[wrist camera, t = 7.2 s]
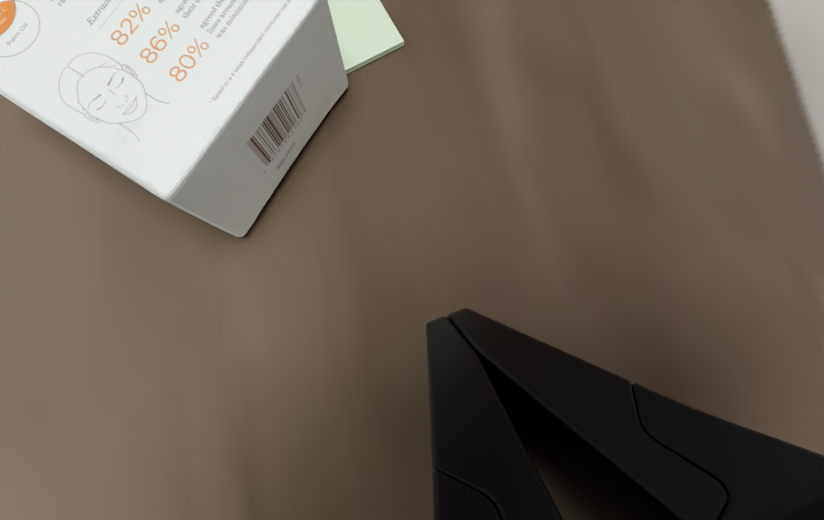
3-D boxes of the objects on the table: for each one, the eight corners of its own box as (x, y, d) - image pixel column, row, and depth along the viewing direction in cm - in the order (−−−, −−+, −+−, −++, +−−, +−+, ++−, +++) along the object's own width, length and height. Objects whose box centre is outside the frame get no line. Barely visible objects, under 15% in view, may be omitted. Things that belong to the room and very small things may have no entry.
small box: (354, 86, 18) (156, -35, 19) (329, -18, 13) (52, -181, 14) (241, 243, 17) (38, 108, 18) (159, 205, 12) (-126, 14, 13)
